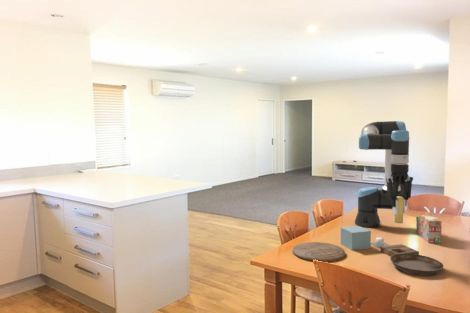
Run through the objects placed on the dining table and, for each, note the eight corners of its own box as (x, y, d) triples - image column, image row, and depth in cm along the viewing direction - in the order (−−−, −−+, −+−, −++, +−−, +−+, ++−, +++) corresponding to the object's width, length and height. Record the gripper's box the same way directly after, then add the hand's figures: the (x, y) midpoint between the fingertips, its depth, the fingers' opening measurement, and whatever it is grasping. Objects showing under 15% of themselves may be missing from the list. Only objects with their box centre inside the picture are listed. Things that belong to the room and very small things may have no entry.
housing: (340, 243, 195) (340, 227, 194) (358, 242, 198) (358, 225, 197) (351, 250, 185) (352, 232, 184) (370, 248, 187) (370, 231, 187)
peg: (392, 221, 176) (393, 196, 175) (399, 221, 177) (399, 196, 176) (398, 223, 172) (398, 198, 171) (404, 223, 173) (405, 197, 172)
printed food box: (415, 232, 215) (416, 211, 214) (427, 232, 214) (428, 211, 213) (428, 243, 194) (428, 220, 193) (441, 243, 193) (441, 220, 192)
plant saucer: (426, 259, 171) (426, 252, 171) (454, 277, 151) (454, 269, 150) (382, 260, 170) (382, 253, 170) (404, 278, 150) (404, 270, 150)
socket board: (380, 251, 182) (380, 246, 182) (401, 248, 185) (401, 244, 185) (396, 259, 171) (396, 254, 171) (418, 256, 174) (418, 251, 174)
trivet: (283, 249, 188) (283, 246, 188) (324, 243, 198) (324, 239, 198) (311, 266, 165) (311, 262, 165) (356, 257, 175) (356, 254, 175)
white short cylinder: (369, 243, 194) (369, 235, 194) (382, 242, 196) (382, 234, 196) (378, 248, 187) (378, 240, 186) (392, 246, 189) (392, 238, 188)
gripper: (389, 165, 167) (388, 216, 169) (420, 163, 171) (419, 213, 173) (379, 163, 174) (378, 212, 176) (409, 162, 178) (408, 210, 180)
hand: (398, 213), depth 174 cm, fingers closed on peg, 3 cm apart
